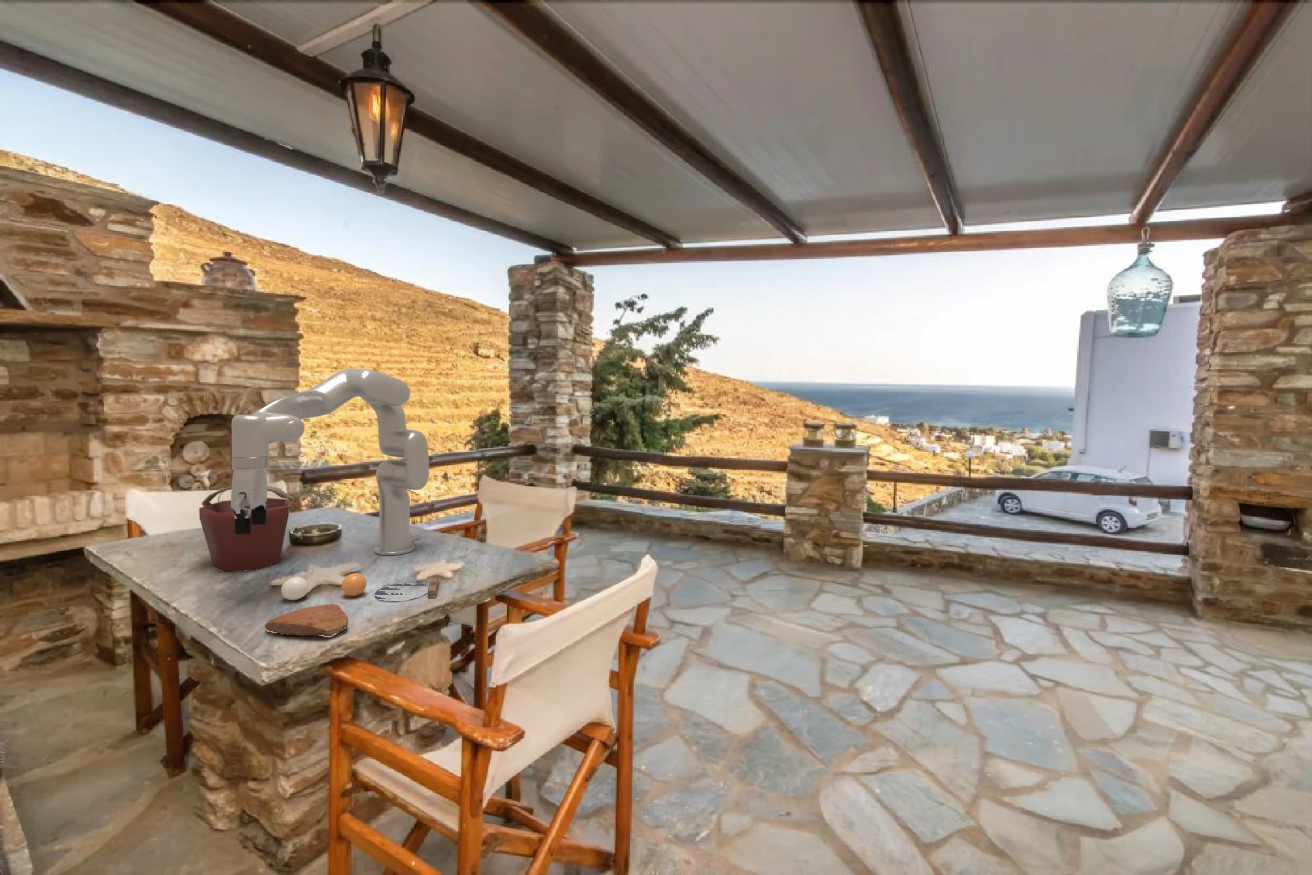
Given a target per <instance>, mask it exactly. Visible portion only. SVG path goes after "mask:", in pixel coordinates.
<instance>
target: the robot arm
mask: <svg viewBox="0 0 1312 875" xmlns="http://www.w3.org/2000/svg"><path fill="white" fill-rule="evenodd" d="M410 390H411V389H410V387H409V386H408V384H407V383H406V382H405V381H404V380H402V379H400V378H397V377H394V376H391V375H389V374H385V373H382V372H379V371H377V370H374V369H368V368H345V369H341V370H339V371H337V372H336V373H334V374H332V375H331V376H329V377H327V378H326V379H323V380H322V381H321V382H320V383H318V384H316V385H314V386H312V387H311V388H309V389H306V390H302V391H300V392H296V393H294V394H292V395H289V396H286V397H282V398H279V399H277V400H275V401H273V402H271V403H269V404H267V405H265V406H264V407H262V408H259V409H258V410H257V411H256V412H254V413H252V414H239V415H235V416H232V419H231V465H232V467H231V468H232V470H233V474H232V479H231V480H232V481H231V486H232V488H231V489H230V490H231V493H230V500H231V508H232V509H234V514H235V516H234V518H235V534H250V533H251V522H252V525H264V524H266V507H267V505H266V500H267V498H268V491H267V486H268V480H267V479H268V478H267V470H269V468H270V464H269V463H270V461H269V459H270V457H269V455H270V451H269V449H270V444H269V443H270V442H277V443H278V442H279V443H292V442H294V441H297V440H299V439H300V438H301V437H302V436H303V434H304V433H305V424H304V422H303V421H302V420H303V419H310V418H311V419H312V418H318V417H322V416H326V415H329V414H332V413H333V412H334V411H336V410H337V409H339V408H340V407H342V406H343V405H345V404H346V403H347V402H349V401H351V400H352V399H353V398H356V397H357V398H358V397H359V398H360V399H361V400H362V401H363V402H365V403H366V404H368V405H369V406H370V407H371V408H372V409H373V411H374V412H375V415H376V417H377V431H378V432H377V433H378V445H379V449H380V452H381V454H383V455H385V456H387V457H388V456H389V457H393V458H394V457H396V458H403V459H404V460H402V459H387V460H384V461H382V462H381V463H380V464H378V466H377V467H376V471H375V479H376V483H377V488H378V499H379V500H378V503H379V509H378V512H379V513H378V514H379V515H378V517H379V520H378V526H379V531H378V532H379V533H378V534H379V535H378V537H379V539H378V540H379V541H378V543H379V544H378V545H377V546H375V547H374V549H373V552H374V554H376V555H381V556H399V555H403V554H407V553H411V552H413V550H415V544H414V542H415V541H419V540H421V539H422V535H421V534H420V533H419V534H415V535H413V534H411V530H410V529H411V523H410V522H411V520H410V518H411V499H410V495H409V492H408V490H410V491H419V490H422V489H424V488H425V487H426V485H427V484H428V482H429V479H430V478H429V477H430V462H429V461H430V458H429V444H428V440H427V438H426V436H425V434H424V433H422V432H420V431H419V430H415V429H408V428H407V422H406V414H405V410H404V408H403V405H405V404H406V403H407V402H408V401H409V400H410V396H411V391H410ZM251 509H252V510H251ZM244 510H247V511H246V512H245V511H244ZM250 513H251V518H249V516H250Z"/></svg>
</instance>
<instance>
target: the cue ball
mask: <svg viewBox="0 0 1312 875" xmlns="http://www.w3.org/2000/svg"><path fill="white" fill-rule="evenodd" d="M308 590H309V583H308V581H307V580H306V579H305V578H304V577H301V576H291V577H289V578H288V579H286V580H285V581H284V582H283V583H282V585H281V590H280V591H281V594H282V596H283V598H285V599H286V600H289V601H296V600H300V599H302V598H303V597H305V595H306V594H307V592H308Z"/></svg>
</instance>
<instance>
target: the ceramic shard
mask: <svg viewBox="0 0 1312 875" xmlns="http://www.w3.org/2000/svg"><path fill="white" fill-rule="evenodd" d="M348 625H349V617H348V615H347V614H346V612H344V610H343V609H342V608H341V607H340V605H339V604H335V603H333V604H330V603H329V604H321V605H320V604H319V605H313V606H309V607H304V608H300V609H296V610H293V611H289V612H287V613H284V614H282V615H279V616H277V617H275V618H273V619H271V620H268V621H267V622H266V623H265V625H264V628H265V630H266V629H267V630H269V631H273V632H277V633H282V634H281V635H284V634H286V635H287V636H294V635H297V636H317V635H324V636H332V635H333V634H335V633H338V632H340V631H341V630H342V629H344V628H345V627H347V626H348ZM348 627H349V626H348ZM348 627H347V628H348ZM344 630H345V629H344ZM341 632H342V631H341ZM341 632H340V633H341ZM312 634H313V635H312ZM286 635H285V636H286Z"/></svg>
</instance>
